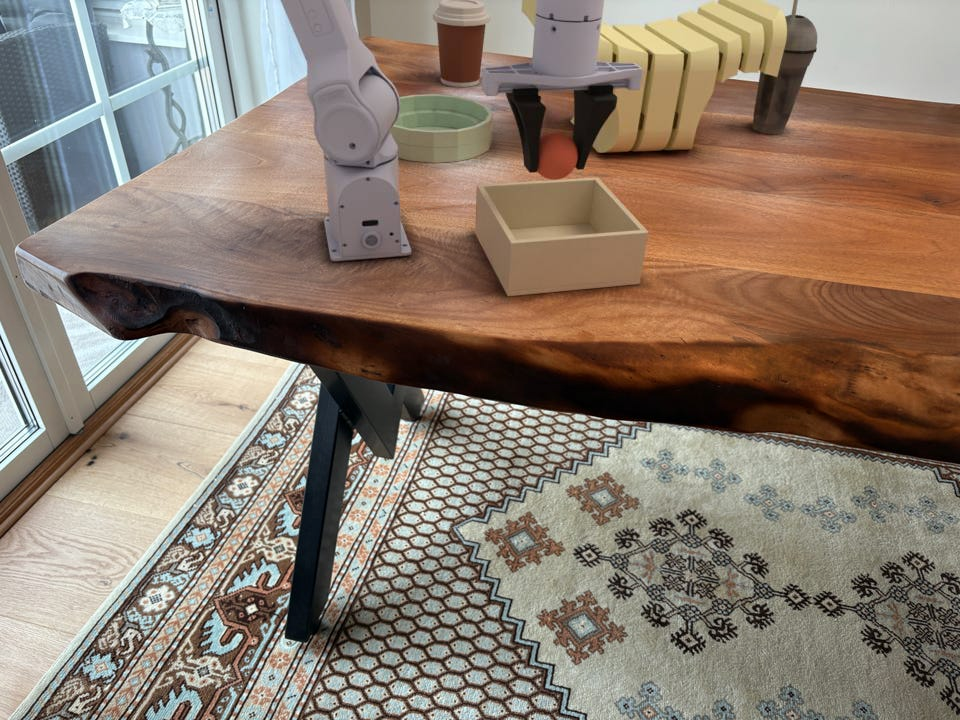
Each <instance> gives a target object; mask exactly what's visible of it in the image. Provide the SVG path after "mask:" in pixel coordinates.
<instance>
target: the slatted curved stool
mask: <svg viewBox="0 0 960 720" xmlns="http://www.w3.org/2000/svg"><path fill="white" fill-rule="evenodd" d="M521 12H522V13H523V14H524V15H525V16H526V18H527V19H528V20H529V22H530V24H532V26H533V28H535V14H536V0H521ZM785 16H786V15H785V13H784V12H783V10H782V8H780V7H778V6H776V5H774V4H771V3H769V2H767V1H764V0H717V2H716V1H714V0H710V1H708V2H706V3H704V4H702V5H700V6H698V7H697V12H695V11H693V10H689V11H686V12H683V13H681V14H679V15H678V14H677V20H676V19H674V18H673V17H669V18H664V19H662V20H659V21H658V20H657V21H653V22H648V23H644V27H643V26H642V25H640V24H626V25H625V24H612V26H610V25H609V24H607V23H603V22H601V30H600V39H599V47H598V56H597V62H612V63H635V64H637V65H638V66H640V67H641V68H643V73H642V79H641V86H640V90H628V89H627V88H619V89H613V94H615V95H616V96H617V104H616V108H615V110H614V111H613V112H612V113H611V115H610V116H609V117H608V119H607V120H606V122H605V123H604V125H603V126H602V128H601V130H600V131H599V133H598V135H597V137H596V139H595V141H594V143H593V146H592V148H593V149H595V151H596V152H597V153H601V154H602V153H604V154H605V153H626V152H627V153H628V152H630V151H631V152H655V151H657V152H658V151H659V152H660V151H663V150H664V151H680V150H681V151H682V150H683V151H684V150H692V149H693V147H694V142H695V137H696V133H697V129H698V125H699V122H700V120H701V118H702V115H703V113H704V111H705V109H706V107H707V105H708V104H709V101H710V100H711V97H712V96H713V94H714V89H715V85H716V81H718V82H720V84H723V83H725V81H727V80H729V79H731V78H733V77H736V76H738V72H741V73H743V74H751V73H752V74H753V73H754V74H758V73H759V72H760V71H761V72H763V73H764V74H768V75H772V76H775V77H777V75H778V72H779V68H780V64H781V60H782V56H783V52H784V48H785V44H786V38H787V23H786V18H785ZM570 123H571V124H572V125H573V126H574V116H573V117H572V118H571V119H570Z"/></svg>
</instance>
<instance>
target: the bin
mask: <svg viewBox="0 0 960 720" xmlns="http://www.w3.org/2000/svg"><path fill="white" fill-rule="evenodd" d="M475 196H476V197H475V219H474V220H475V221H474V222H475V225H474V234H475V236H476V238H477V240H478V242H479V244H480V246H481V248H482V250H483V252H484V254H485V255H486V257H487V260H488V261H489V263H490V265H491V267H492V269H493V271H494V272H495V275H496V277H497V279H498V280H499V283H500V285H501V286H502V288H503V290H504V292H505V295H506V296H507V297H516V296H526V295H535V294H537V295H538V294H547V293H559V292H569V291H579V290H590V289H601V288H602V289H603V288H611V287H623V286H632V285H640V283H641V279H642V272H643V267H644V261H645V257H646V251H647V245H648V240H649V231H648V230H647V229H646V227H644V225H643V224H642V223H641V222H640V221H639V220H638V219H637V218H636V216H634V214H633V213H632V212H631V211H630V210H629V208H627V207H626V206H625V205H624V204H623V203H622V202H621V201H620V199H619V198H618V197H617V196H616V195H615V194H614V193H613V192H612V191H611V190H610V189H609V187H607V186H606V184H605V183H604V182H603V181H602V180H601V179H600V178H599V177H597V176H596V177H583V178H581V177H580V178H562V179H557V180H551V179H547V180H534V181H533V180H532V181H531V180H530V181H518V182H517V181H516V182H515V181H514V182H498V183H484V184H483V183H482V184H476V195H475Z"/></svg>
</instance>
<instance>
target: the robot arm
mask: <svg viewBox="0 0 960 720" xmlns="http://www.w3.org/2000/svg"><path fill="white" fill-rule="evenodd" d="M280 2H281V5H282V7H283V9H284V12H285V15H286V16H287V19H288V22H289V24H290V27H291V28H292V31H293V33H294V36H295V38H296V40H297V42H298V45H299V47H300V50H301V52H302V54H303V56H304V59H305V61H306V94H307V96H308V100H309V101H310V103H311V106H312V111H313V133H314V136H315V139H316V141H317V144H318V146H319V147H320V148H321V149H322V151H323V163H324V176H325V187H326V189H325V190H326V199H327V212H328V213H327V214H328V216H325V217H324V218H323V224H324V230H325V235H326V242H327V246H328V252H329V258H330V260H331V261H332V262H343V261H355V260H369V259H380V258H381V259H382V258H393V257H407V256H410V255H412V248H411V246H410V242H409V239H408V237H407V233H406V231H405V228H404V225H403V223H402V219H401V218H402V216H401V198H400V197H401V196H400V177H399V175H400V173H399V172H400V171H399V158H398V146H397V144H396V142H395V141H394V139H393V137H392V134H391V132H390V128H391V127H392V126H393V125H394V123H395V122H396V120H397V119H398V116H399V113H400V98H399V97H400V95H399V92H398V90H397V88H396V86H395V85H394V83H393V82H392V81H391V80H390V78H388V77H387V76H386V75H385V74H384V73H383V72H382V70H381V69H380V67H379V65H378V63H377V60H376V57H375V54H374V53H373V52H372V51H371V50H370V49H369V48H368V47H367V46H366V44H364V43H363V41H362V40H361V39H360V37H359V34H358V32H357V29H356V27H355V25H354V22H353V18H352V17H351V13H350V11H349V9H348V6H347V4H346V1H345V0H280ZM604 5H605V0H536V14H535V28H534V27H533V28H534V29H533V30H534V31H533V44H532V59H531V61H527V62H521V63H514V64H507V65H501V66H492V67H481V90H482V92H483V94H484V95H486V96H487V97H496V96H498V95H499V94H505V97H506V99H507V101H508V104H509V107H510V109H511V111H512V114H513V118H514V120H515V123H516V126H517V131H518V135H519V139H520V145H521V149H522V156H523V157H522V158H523V167H525V168H526V170H527V171H528V172H529V173H531V174H533V173H538V172H537V169H538V163H539V142H540V137H541V136H542V135H541V133H542V128H543V123H544V118H545V114H546V110H547V107H546V106H545V104H544V103H542V95H539V92H540V93H542V92H565V91H573V117H574V125H573V131H572V137H571V139H572V140H573V141H574V142H575V144H576V146H577V150H578V161H577V164H576V166H575V169H576V170H578V171H579V170H584V169H585V167H586V164H587V161H588V158H589V155H590V153H591V151H592V148H593V143H594V141H595V139H596V137H597V135H598V133H599V131H600V130H601V128H602V126H603V125H604V123H605V122H606V120H607V119H608V117H609V116H610V115H611V113H612V112H613V111H614V110H615V108H616V104H617V96H616V95H615V94H613V89H619V88H627V89H628V90H640V86H641V79H642V73H643V68H641V67H640V66H638V65H637V64H635V63H612V62H597V56H598V47H599V39H600V30H601V23H603V22H602V21H603V13H604Z"/></svg>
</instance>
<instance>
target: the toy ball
mask: <svg viewBox="0 0 960 720" xmlns="http://www.w3.org/2000/svg"><path fill="white" fill-rule="evenodd" d="M577 161H578V150H577V146H576V144H575V142H574V141H573V140H572V137H571V136H570V135H568V134H566V133H564V132H560V131H550V132H547V133H545V134H543V135H541V136H540V142H539V163H538V169H537V172H536V173H538V174H539V176H541V177H543V178H544V179H547V180H563V179H565V178H566V177H567V176H569V175H570V174H571V173H573V172H574V170H575V169H576V167H575V166H576V164H577Z"/></svg>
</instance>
